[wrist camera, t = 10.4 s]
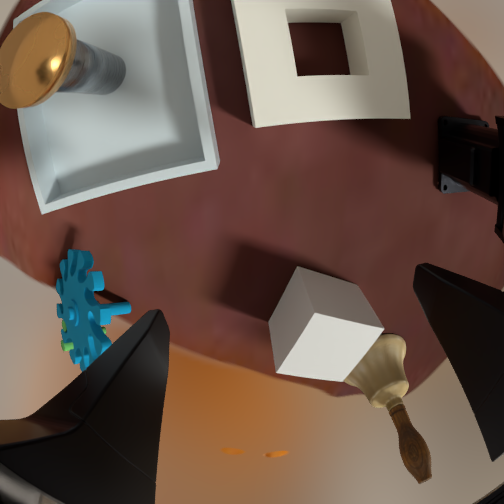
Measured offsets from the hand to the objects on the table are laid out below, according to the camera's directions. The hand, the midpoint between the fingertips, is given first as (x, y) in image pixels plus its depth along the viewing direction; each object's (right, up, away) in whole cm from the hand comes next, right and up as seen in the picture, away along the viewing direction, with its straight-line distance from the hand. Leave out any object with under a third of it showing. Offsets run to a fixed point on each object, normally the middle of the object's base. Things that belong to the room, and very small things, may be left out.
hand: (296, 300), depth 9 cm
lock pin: (-11, +13, +5) cm, 18 cm away
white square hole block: (+3, +15, +6) cm, 16 cm away
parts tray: (-11, +14, +6) cm, 19 cm away
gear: (-15, -2, +14) cm, 21 cm away
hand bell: (+12, -10, +20) cm, 26 cm away
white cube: (+4, -3, +16) cm, 16 cm away
